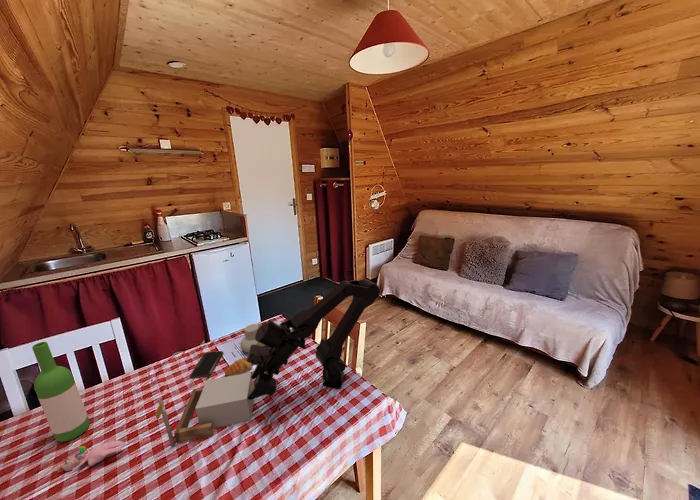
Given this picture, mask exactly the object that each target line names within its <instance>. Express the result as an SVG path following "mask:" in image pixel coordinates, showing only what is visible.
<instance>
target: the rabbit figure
mask: <svg viewBox="0 0 700 500" xmlns="http://www.w3.org/2000/svg"><path fill="white" fill-rule="evenodd" d="M125 445H126V443H125V442H124V441H122V440H113V441H111V442H108V443H106V444H99V445H97V446H95V447H93V448H92V449H90V448H87V447H86V446H85V445H82V446H78V447H77V448H76V449H78V450H77V451H76V453H75V454H73V455H72V456H68V457H66V458H63V459H62V460H63V463H64V464H63V465H61V466H60V467H56V469H57V470H56V471H57V473H60V472H61V473H62V471H61V470H65V472H70V471H72V472H73V471H75V470H78V469H79V468H80V467H81V466H83V465H84V464H86V462H87V464H88V466H93V465H95V464H97V463H99V462H101V461H103V460H104V459H105V457H106V456H108V455H110V454H112V453H115V452H119V451H121V450H123V448H122V447H121V446H125ZM85 453H86V454H85ZM83 454H85V455H83Z"/></svg>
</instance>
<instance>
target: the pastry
mask: <svg viewBox="0 0 700 500" xmlns="http://www.w3.org/2000/svg"><path fill="white" fill-rule="evenodd" d="M252 365H253V364H251V363H249V362H247V356H244V357H243V358H239V359H236V360H235V361H234V362H233V363H232V364H230V365H229V366H228V367H227V368H226V369H225V370H224V375H225V377H228V376H233V375H239V374H245V373H248V372H249V371H251V370H252V368H253V366H252Z"/></svg>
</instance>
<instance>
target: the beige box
mask: <svg viewBox="0 0 700 500" xmlns="http://www.w3.org/2000/svg"><path fill="white" fill-rule="evenodd" d="M252 375H253V373H252V372H245V373H242V374H239V375H233V376H222V377H217V378H211V379H206V381H205V384H204V385H203V387H204V388H203V387H202V388H203V390H202V393H201V396H200V398H199V400H198V402H197V404H196V407H195V413H196V416H197V421H198V424H199V425H203V424H208V423H212V426H213V429H216V428H221V427H227V426H232V425H236V424H241V423H246V422H250V421H252V414H253V408H254V402H255V399H252V400H249V399H248V396H249V394H250V393H251V391H252V390H253V388H254V379H252V378H251V376H252Z"/></svg>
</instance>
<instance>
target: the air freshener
mask: <svg viewBox="0 0 700 500" xmlns="http://www.w3.org/2000/svg"><path fill="white" fill-rule="evenodd" d="M259 327H260V326H259V324H256V323H252V324H249V325H247V326H245V327H244V328H243V329H244V330H243V332H244V336H243V338H242V339H241V340H240V344H239V346H240V349H241V350H242V351H243V352H244V353H247V354H248V353H249V350H250V347H251V345H258V346H266V345H264V344H262V343H260V342H258V341H256V340H255V335H256V332H257V330H258V329H259Z"/></svg>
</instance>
